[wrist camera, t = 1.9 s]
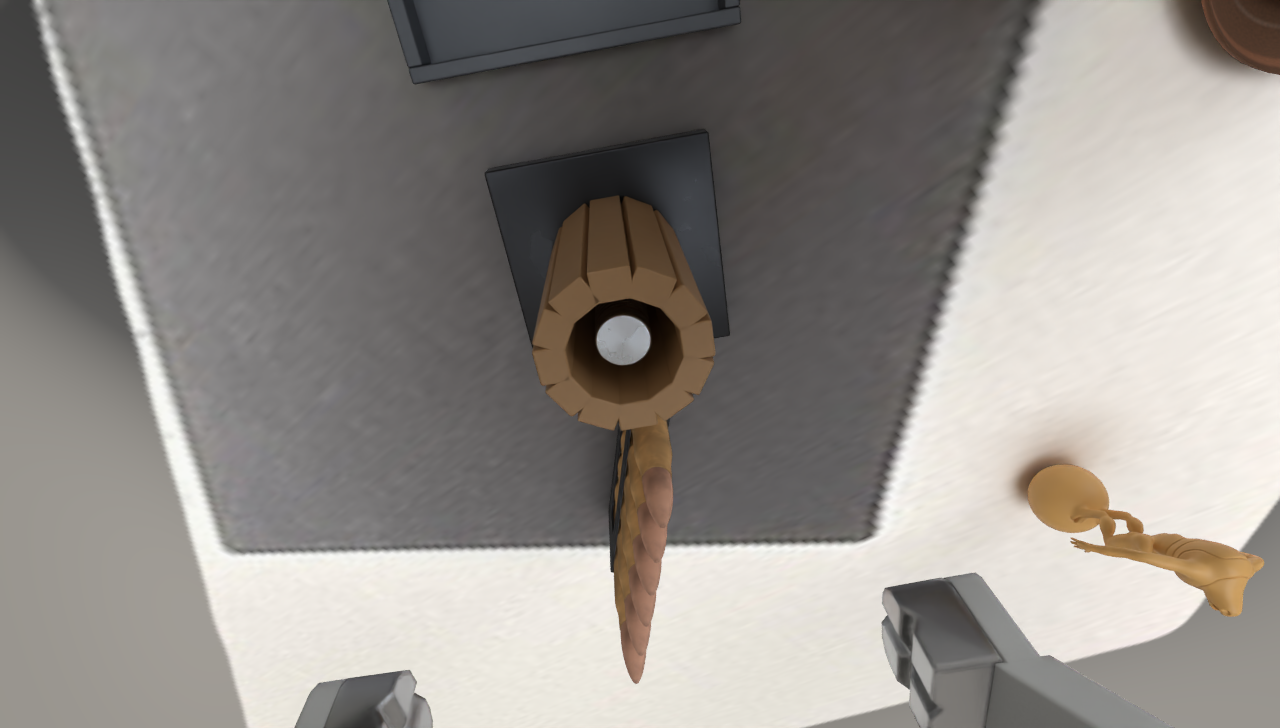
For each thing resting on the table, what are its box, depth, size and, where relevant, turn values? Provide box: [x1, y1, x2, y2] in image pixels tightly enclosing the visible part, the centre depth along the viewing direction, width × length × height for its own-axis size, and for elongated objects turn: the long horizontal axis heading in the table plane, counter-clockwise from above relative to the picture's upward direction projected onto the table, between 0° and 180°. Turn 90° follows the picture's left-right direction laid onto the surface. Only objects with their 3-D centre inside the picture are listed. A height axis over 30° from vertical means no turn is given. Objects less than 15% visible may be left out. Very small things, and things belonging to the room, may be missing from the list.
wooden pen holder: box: [532, 195, 715, 431], centre depth 25 cm, size 6×6×10 cm
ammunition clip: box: [609, 413, 673, 684], centre depth 30 cm, size 11×2×12 cm, turn 173°
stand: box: [485, 129, 730, 366], centre depth 26 cm, size 10×10×10 cm
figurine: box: [1028, 464, 1264, 617], centre depth 33 cm, size 8×6×12 cm
